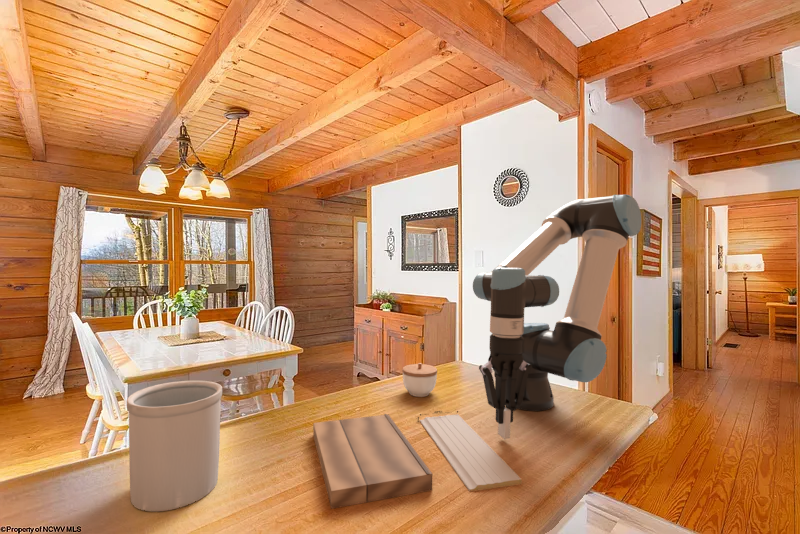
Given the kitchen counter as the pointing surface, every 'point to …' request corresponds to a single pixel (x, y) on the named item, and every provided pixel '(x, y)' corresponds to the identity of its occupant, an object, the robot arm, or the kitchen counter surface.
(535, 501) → the kitchen counter surface
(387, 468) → the grooved tan panel
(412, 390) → the lidded jar
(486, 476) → the baseboard molding
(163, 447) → the utensil holder
